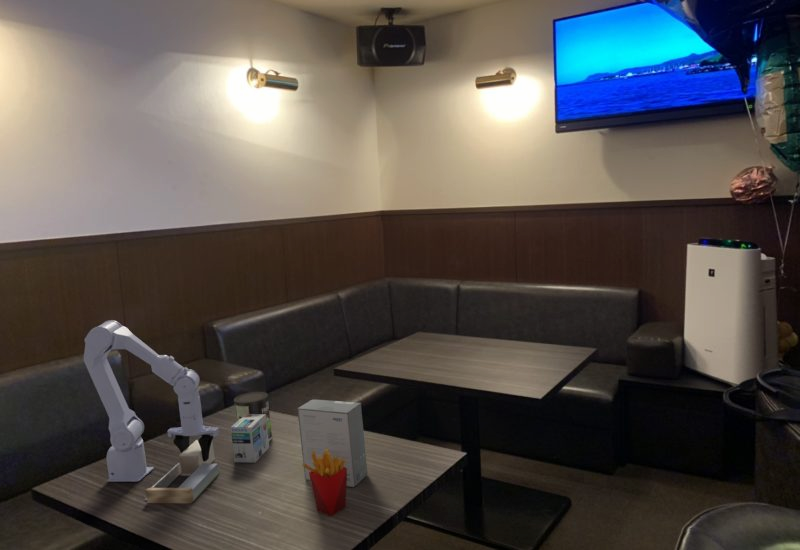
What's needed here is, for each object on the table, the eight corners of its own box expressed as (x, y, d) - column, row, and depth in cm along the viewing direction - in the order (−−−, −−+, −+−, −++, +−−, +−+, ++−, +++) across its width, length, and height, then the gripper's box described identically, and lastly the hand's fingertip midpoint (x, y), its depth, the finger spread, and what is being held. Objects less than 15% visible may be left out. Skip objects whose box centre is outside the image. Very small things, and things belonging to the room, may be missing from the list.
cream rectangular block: (181, 475, 166) (179, 455, 165) (198, 459, 176) (196, 439, 175) (198, 475, 165) (196, 454, 164) (214, 459, 175) (212, 439, 174)
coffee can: (275, 432, 192) (271, 390, 190) (268, 445, 182) (263, 401, 180) (243, 434, 192) (238, 392, 190) (234, 448, 182) (229, 403, 180)
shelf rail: (147, 503, 152) (145, 490, 151) (149, 500, 153) (148, 487, 152) (191, 503, 150) (189, 490, 149) (193, 500, 151) (192, 487, 150)
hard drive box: (368, 474, 158) (362, 402, 155) (354, 488, 151) (348, 413, 149) (319, 467, 165) (312, 398, 162) (303, 480, 158) (296, 408, 155)
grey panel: (144, 500, 153) (142, 489, 153) (174, 472, 168) (173, 462, 167) (152, 500, 153) (150, 489, 152) (181, 472, 167) (180, 462, 167)
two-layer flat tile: (176, 500, 152) (174, 489, 151) (203, 472, 166) (202, 462, 166) (193, 500, 151) (192, 489, 151) (219, 472, 166) (218, 462, 165)
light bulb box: (255, 463, 170) (251, 427, 169) (233, 463, 171) (229, 427, 170) (270, 447, 181) (266, 413, 179) (249, 447, 182) (245, 413, 180)
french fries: (332, 498, 147) (326, 441, 145) (356, 508, 142) (350, 448, 140) (305, 515, 140) (298, 454, 138) (329, 525, 135) (323, 463, 133)
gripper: (221, 408, 170) (226, 453, 172) (174, 409, 173) (180, 453, 174) (210, 417, 163) (216, 464, 165) (161, 418, 166) (167, 464, 168)
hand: (196, 459), depth 169 cm, fingers closed on cream rectangular block, 5 cm apart
